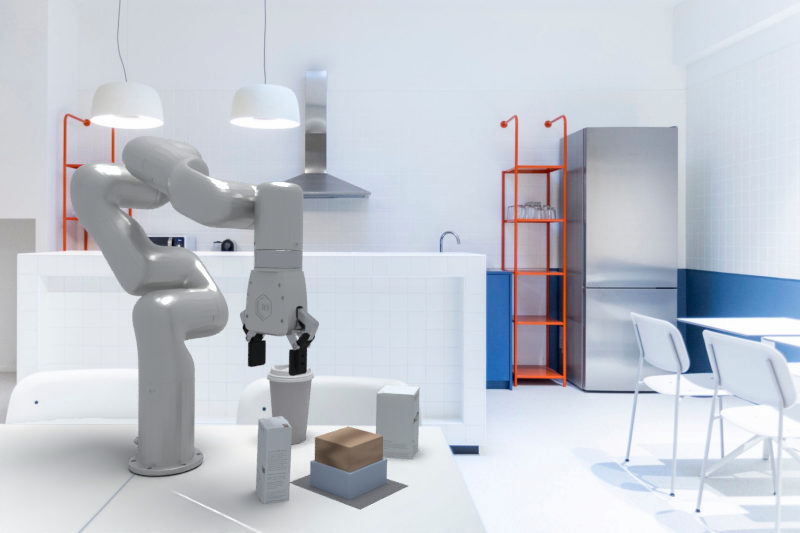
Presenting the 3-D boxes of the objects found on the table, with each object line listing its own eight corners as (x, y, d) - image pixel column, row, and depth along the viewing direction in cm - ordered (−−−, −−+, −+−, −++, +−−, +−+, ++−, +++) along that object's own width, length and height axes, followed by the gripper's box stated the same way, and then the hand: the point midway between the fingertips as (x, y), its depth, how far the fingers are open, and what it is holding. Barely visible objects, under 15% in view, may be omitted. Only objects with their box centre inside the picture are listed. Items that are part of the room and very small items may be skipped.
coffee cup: (295, 429, 131) (296, 361, 131) (322, 440, 125) (323, 367, 124) (257, 439, 125) (257, 366, 124) (284, 450, 118) (285, 374, 118)
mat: (288, 484, 101) (288, 482, 101) (339, 465, 110) (339, 463, 110) (359, 511, 91) (360, 509, 91) (408, 488, 100) (408, 485, 100)
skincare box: (254, 492, 98) (255, 418, 97) (282, 488, 100) (283, 415, 99) (262, 507, 92) (263, 428, 92) (291, 502, 94) (292, 425, 94)
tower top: (314, 461, 100) (314, 437, 100) (348, 449, 106) (348, 426, 106) (350, 472, 95) (350, 447, 95) (382, 459, 101) (383, 435, 101)
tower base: (310, 485, 100) (310, 461, 100) (347, 470, 107) (347, 447, 107) (349, 499, 94) (350, 474, 94) (386, 482, 101) (387, 459, 101)
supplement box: (412, 462, 113) (414, 394, 113) (374, 458, 114) (375, 392, 114) (419, 449, 120) (420, 386, 120) (383, 446, 122) (384, 383, 121)
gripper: (224, 260, 97) (223, 365, 98) (298, 263, 87) (296, 382, 87) (261, 259, 103) (260, 359, 104) (334, 263, 93) (332, 374, 93)
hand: (276, 369), depth 96 cm, fingers open, 9 cm apart
